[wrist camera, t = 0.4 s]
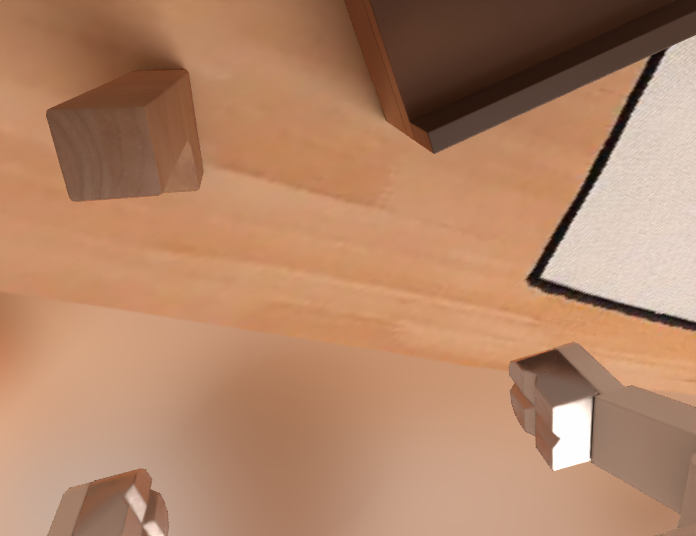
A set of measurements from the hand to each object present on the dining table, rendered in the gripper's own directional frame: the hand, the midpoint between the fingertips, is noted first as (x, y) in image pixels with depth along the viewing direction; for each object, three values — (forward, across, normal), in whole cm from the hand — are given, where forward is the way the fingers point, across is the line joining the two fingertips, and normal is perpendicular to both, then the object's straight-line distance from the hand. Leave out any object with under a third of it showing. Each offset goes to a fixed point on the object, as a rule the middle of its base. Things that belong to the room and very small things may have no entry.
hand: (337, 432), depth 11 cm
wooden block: (+26, +6, -4) cm, 27 cm away
